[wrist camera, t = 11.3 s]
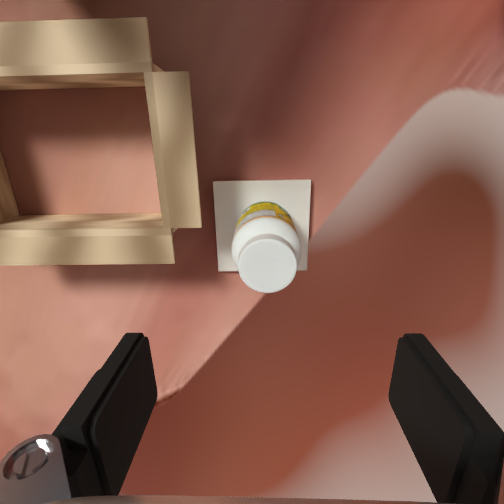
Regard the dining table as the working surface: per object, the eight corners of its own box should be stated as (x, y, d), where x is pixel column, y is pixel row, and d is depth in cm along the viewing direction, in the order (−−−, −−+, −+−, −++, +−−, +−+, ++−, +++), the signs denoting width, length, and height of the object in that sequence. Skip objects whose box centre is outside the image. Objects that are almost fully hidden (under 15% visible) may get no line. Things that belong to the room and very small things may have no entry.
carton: (199, 41, 25) (184, 15, 19) (213, 242, 31) (204, 263, 25) (-66, 49, 25) (-149, 27, 20) (-2, 245, 31) (-53, 266, 26)
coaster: (310, 179, 28) (311, 179, 28) (306, 268, 31) (306, 270, 31) (213, 180, 28) (212, 181, 28) (219, 268, 32) (218, 271, 31)
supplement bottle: (232, 205, 29) (219, 234, 20) (288, 195, 28) (302, 221, 19) (243, 257, 30) (235, 306, 21) (296, 249, 30) (311, 295, 21)
